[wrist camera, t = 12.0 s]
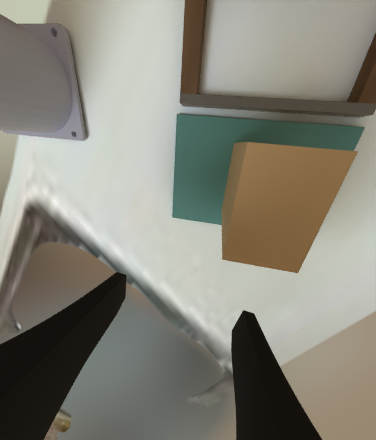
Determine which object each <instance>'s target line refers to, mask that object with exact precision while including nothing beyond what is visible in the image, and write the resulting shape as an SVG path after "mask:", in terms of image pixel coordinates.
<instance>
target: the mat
mask: <svg viewBox="0 0 376 440" xmlns="http://www.w3.org/2000/svg"><path fill="white" fill-rule="evenodd" d="M364 128H365V127H352V126H337V125H323V124H309V123H295V122H281V121H267V120H253V119H238V118H224V117H210V116H196V115H182V114H177V124H176V147H175V169H174V191H173V214H172V217H173V218H180V219H186V220H193V221H199V222H206V223H212V224H219V225H222V205H223V199H224V194H225V188H226V183H227V178H228V172H229V167H230V161H231V156H232V150H233V145H234V143H240V142H254V143H265V144H277V145H288V146H300V147H311V148H323V149H334V150H346V151H354V149H355V147H356V145H357V143H358V141H359V139H360V137H361V134H362V132H363V130H364Z"/></svg>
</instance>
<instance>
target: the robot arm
mask: <svg viewBox="0 0 376 440" xmlns="http://www.w3.org/2000/svg"><path fill="white" fill-rule="evenodd" d="M56 31H57V36H55V33H56ZM0 130H2V131H3V132H5V133H9V134H19V135H29V136H39V137H50V138H60V139H70V140H80V141H83V140H85V139H86V133H85V127H84V121H83V115H82V109H81V103H80V97H79V91H78V85H77V79H76V73H75V67H74V61H73V55H72V50H71V44H70V38H69V33H68V31H67V29H66V28H65V27H64V26H62V25H61V24H16V23H14V22H12V21H11V20H9V19H8V18H6V17H4V16H2V15H1V14H0ZM75 133H76V136H75ZM125 294H126V275H124V274H121V273H118V272H117V273H115V274H113V275H112V276H111V277H109V278H108V279H107V280H105V281H104V282H103V283H101V284H100V285H99V286H97V287H96V288H94V289H93V290H92V291H90V292H89V293H87V294H86V295H84V296H83V297H82V298H80V299H79V300H77V301H76V302H74V303H72V304H71V305H69V306H68V307H66V308H65V309H63V310H62V311H60V312H58V313H57V314H55V315H53V316H52V317H50V318H48V319H47V320H45V321H43V322H41V323H40V324H38V325H36V326H34V327H33V328H31V329H29V330H27V331H25V332H24V333H21V334H20V335H18V336H16V337H14V338H12V339H10V340H8V341H6V342H4V343H2V344H0V440H44V438H45V436H46V434H47V432H48V430H49V428H50V426H51V424H52V422H53V421H54V419H55V417H56V415H57V413H58V411H59V409H60V407H61V406H62V404H63V402H64V400H65V398H66V396H67V394H68V393H69V391H70V389H71V387H72V385H73V383H74V382H75V379H76V378H77V376H78V374H79V373H80V371H81V369H82V367H83V366H84V364H85V362H86V361H87V359H88V357H89V356H90V354H91V353H92V351H93V350H94V348H95V347H96V345H97V344H98V342H99V341H100V339H101V337H102V336H103V334H104V333H105V331H106V330H107V328H108V327H109V325H110V323H111V322H112V321H113V319H114V318H115V316H116V314H117V313H118V311H119V309H120V307H121V305H122V303H123V301H124V299H125ZM231 352H232V366H233V379H234V391H235V404H236V430H237V431H236V433H237V434H236V435H237V437H236V440H322V439H321V437H320V436H319V434H318V432H317V431H316V429H315V427H314V426H313V424H312V423H311V421H310V419H309V418H308V416H307V414H306V413H305V411H304V409H303V408H302V406H301V404H300V403H299V401H298V399H297V397H296V396H295V394H294V392H293V390H292V388H291V387H290V385H289V383H288V381H287V379H286V378H285V376H284V374H283V372H282V370H281V368H280V366H279V364H278V362H277V360H276V358H275V356H274V354H273V352H272V350H271V348H270V346H269V344H268V342H267V340H266V338H265V336H264V334H263V332H262V330H261V327H260V325H259V323H258V321H257V319H256V317H255V315H254V313H251V312H247V311H244V310H243V312H242V314H241V315H240V317H239V319H238V321H237V323H236V324H235V326H234V328H233V330H232V347H231Z"/></svg>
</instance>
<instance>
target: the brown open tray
mask: <svg viewBox="0 0 376 440" xmlns="http://www.w3.org/2000/svg"><path fill="white" fill-rule="evenodd" d="M206 5H207V0H185V12H184V32H183V52H182V72H181V92H180V103H181V104H182V105H183V106H190V107H206V108H221V109H237V110H252V111H268V112H284V113H299V114H315V115H331V116H346V117H364V116H369V115H373V114H374V112H375V110H376V34H375V37H374V39H373V41H372V44H371V46H370V49H369V51H368V53H367V56H366V58H365V61H364V63H363V65H362V68H361V70H360V73H359V75H358V77H357V80H356V82H355V85H354V87H353V89H352V92H351V94H350V97H349V99H348V101H347V102H334V101H315V100H296V99H278V98H259V97H241V96H222V95H204V94H199V83H200V72H201V61H202V50H203V38H204V27H205V16H206Z"/></svg>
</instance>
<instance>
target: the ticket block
mask: <svg viewBox="0 0 376 440" xmlns="http://www.w3.org/2000/svg"><path fill="white" fill-rule="evenodd" d="M356 154H357V151H346V150H334V149H323V148H311V147H300V146H288V145H277V144H265V143H254V142H240V143H234V145H233V150H232V156H231V161H230V167H229V172H228V178H227V183H226V188H225V194H224V199H223V205H222V260H228V261H233V262H239V263H244V264H250V265H256V266H261V267H267V268H272V269H278V270H283V271H289V272H295V273H298V272H299V270H300V268H301V266H302V264H303V262H304V260H305V258H306V256H307V254H308V252H309V250H310V248H311V246H312V243H313V241H314V239H315V237H316V235H317V233H318V231H319V229H320V227H321V225H322V223H323V221H324V219H325V217H326V215H327V213H328V211H329V209H330V207H331V205H332V203H333V201H334V199H335V197H336V195H337V193H338V191H339V189H340V187H341V184H342V182H343V180H344V178H345V176H346V174H347V172H348V170H349V168H350V166H351V164H352V162H353V160H354V158H355V156H356Z"/></svg>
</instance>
